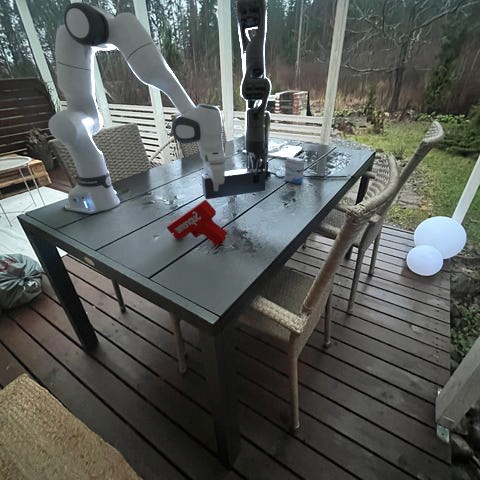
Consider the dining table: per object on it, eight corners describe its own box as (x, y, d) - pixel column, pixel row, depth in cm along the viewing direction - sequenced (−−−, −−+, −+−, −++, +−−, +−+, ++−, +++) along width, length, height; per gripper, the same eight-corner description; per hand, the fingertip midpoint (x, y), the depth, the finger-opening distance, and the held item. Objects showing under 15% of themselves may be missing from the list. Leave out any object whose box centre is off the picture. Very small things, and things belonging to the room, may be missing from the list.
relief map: (291, 159, 177) (291, 151, 174) (243, 153, 190) (243, 145, 187) (302, 149, 197) (303, 142, 194) (258, 144, 211) (258, 137, 208)
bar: (260, 186, 118) (261, 166, 114) (265, 190, 114) (266, 170, 109) (203, 194, 112) (201, 174, 107) (206, 199, 107) (204, 178, 103)
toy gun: (233, 234, 92) (206, 198, 88) (229, 240, 88) (200, 203, 84) (198, 253, 102) (172, 221, 98) (193, 259, 98) (166, 227, 94)
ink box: (302, 181, 142) (305, 159, 136) (297, 184, 139) (300, 161, 133) (289, 177, 147) (291, 156, 141) (284, 180, 144) (285, 158, 138)
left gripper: (197, 146, 108) (200, 179, 116) (209, 160, 92) (212, 198, 100) (213, 145, 110) (215, 178, 118) (227, 158, 94) (228, 196, 101)
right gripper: (239, 135, 108) (239, 176, 118) (252, 143, 97) (251, 188, 106) (256, 133, 110) (255, 174, 120) (271, 141, 99) (269, 185, 108)
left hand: (213, 187), depth 109 cm, fingers closed on bar, 5 cm apart
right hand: (253, 180), depth 113 cm, fingers closed on bar, 5 cm apart
